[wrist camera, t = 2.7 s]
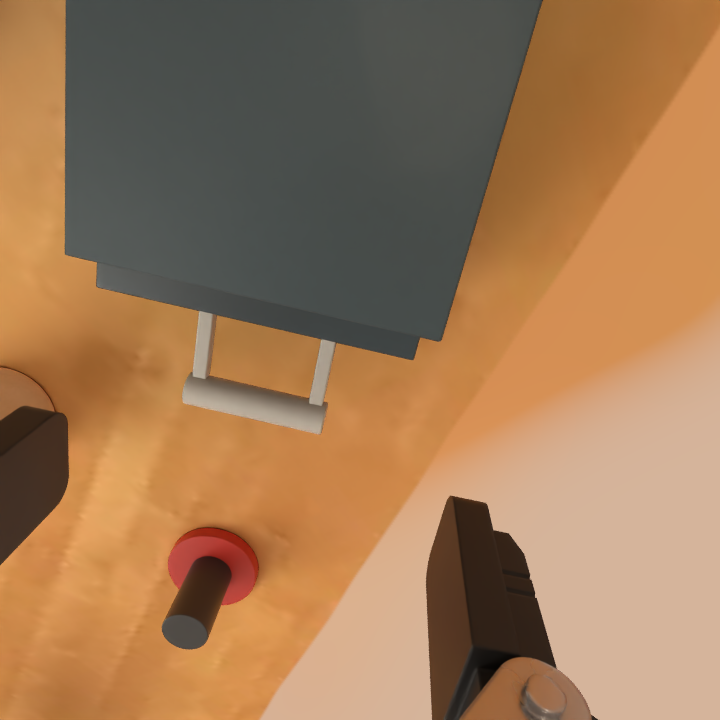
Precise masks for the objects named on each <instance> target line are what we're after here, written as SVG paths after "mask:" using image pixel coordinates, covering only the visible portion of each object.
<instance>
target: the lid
mask: <svg viewBox="0 0 720 720" xmlns="http://www.w3.org/2000/svg"><path fill="white" fill-rule="evenodd" d="M168 570H169V574H170V576H171V578H172V580H173V582H174V583H175V585H176V586H177V587H178V588H179V589H180V590H179V592H178V594H177V596H176V598H175V600H174V602H173V604H172V606H171V608H170V610H169V612H168V614H167V616H166V618H165V620H164V622H163V624H162V632H163V635H164V637H165V638H166V639H167V640H168V641H169V642H170V643H171V644H173V645H174V646H176V647H179V648H182V649H196V648H199V647H201V646H203V645H204V644H205V643H206V641H207V639H208V637H209V634H210V632H211V629H212V627H213V624H214V622H215V619H216V616H217V614H218V611H219V609H220V606H221V605H229V604H233V603H236V602H238V601H240V600H242V599H243V598H245V597H246V596H247V595H248V594H249V593H250V592H251V590H252V589H253V587H254V585H255V582H256V579H257V575H258V562H257V558H256V556H255V554H254V552H253V550H252V549H251V548H250V546H249V545H248V544H247V543H246V542H245V541H243V540H242V539H241V538H239V537H238V536H236V535H234V534H232V533H230V532H227V531H224V530H221V529H215V528H202V529H196V530H193V531H191V532H188V533H187V534H185V535H183V536H182V537H181V538H180V539H179V540H178V541H177V543H176V544H175V546H174V548H173V549H172V551H171V553H170V556H169V559H168Z"/></svg>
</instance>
